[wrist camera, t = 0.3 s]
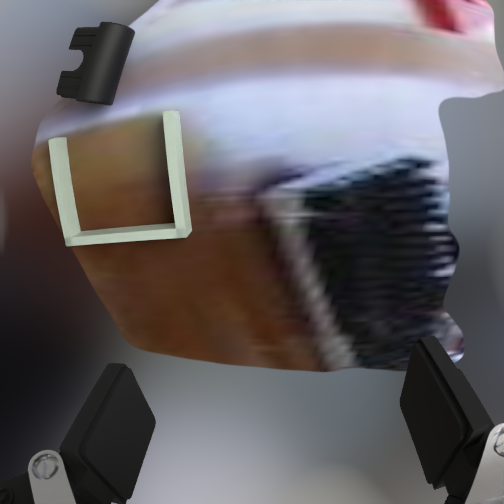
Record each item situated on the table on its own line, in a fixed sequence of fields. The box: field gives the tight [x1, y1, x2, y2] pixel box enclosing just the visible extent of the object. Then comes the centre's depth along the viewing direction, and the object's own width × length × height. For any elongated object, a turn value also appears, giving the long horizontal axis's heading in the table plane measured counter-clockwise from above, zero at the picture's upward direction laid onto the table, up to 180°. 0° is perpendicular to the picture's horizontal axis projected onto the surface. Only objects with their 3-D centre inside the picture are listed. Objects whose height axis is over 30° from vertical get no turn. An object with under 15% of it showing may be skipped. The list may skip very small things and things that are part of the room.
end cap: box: [57, 22, 135, 105], centre depth 29 cm, size 10×7×7 cm
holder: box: [49, 110, 192, 246], centre depth 36 cm, size 15×18×3 cm
